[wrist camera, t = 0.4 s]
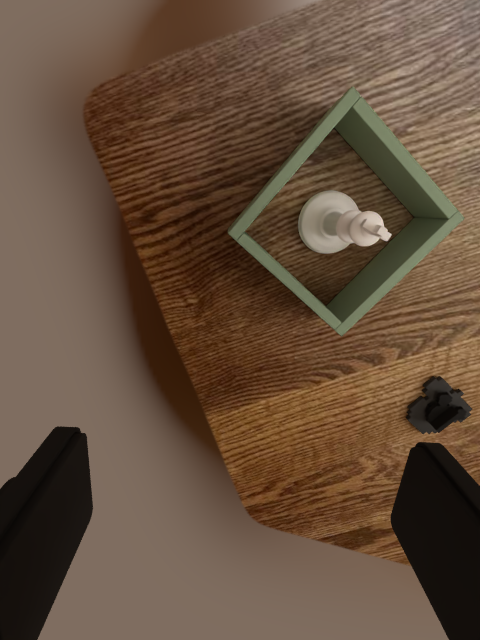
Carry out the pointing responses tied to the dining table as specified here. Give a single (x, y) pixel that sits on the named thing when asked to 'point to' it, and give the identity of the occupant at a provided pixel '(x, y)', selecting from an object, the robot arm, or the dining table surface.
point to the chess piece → (338, 223)
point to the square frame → (403, 181)
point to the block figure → (437, 407)
